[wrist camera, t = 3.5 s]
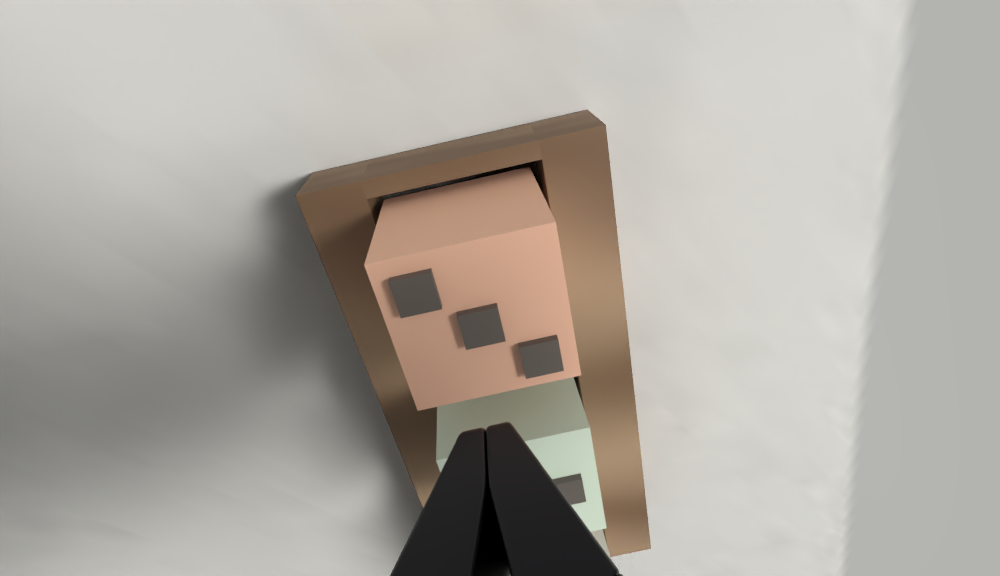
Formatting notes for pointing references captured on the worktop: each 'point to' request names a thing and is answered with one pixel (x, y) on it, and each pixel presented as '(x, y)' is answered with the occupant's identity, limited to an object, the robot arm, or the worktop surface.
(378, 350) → the board
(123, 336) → the worktop surface
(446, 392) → the key three
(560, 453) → the key two
